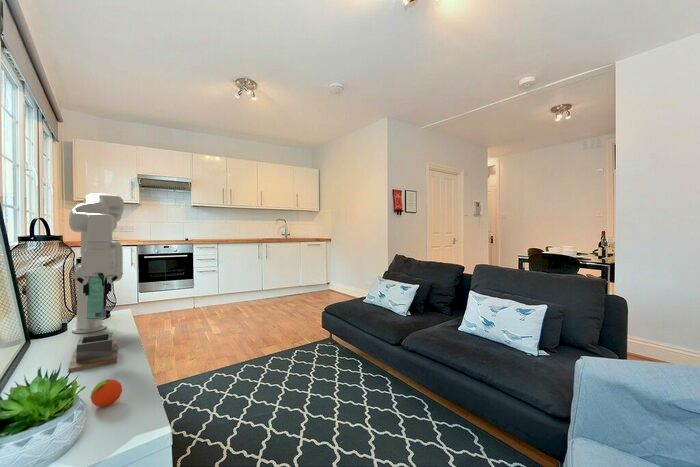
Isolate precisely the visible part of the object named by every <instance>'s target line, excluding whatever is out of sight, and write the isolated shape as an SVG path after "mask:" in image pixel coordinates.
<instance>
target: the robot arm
mask: <svg viewBox="0 0 700 467" xmlns="http://www.w3.org/2000/svg"><path fill="white" fill-rule="evenodd" d="M82 200H83V201H82V203H78V204H76V205H75V206H74V207H73V208H72V209H71V210H70V212H69V218H68V226H69V228H70V229H71V231H73V232H75V233H80V256H81V260H80V265H78V266H77V267H76V269H75V271H74V272H73V273H72V274H71V277H72V278H73V279H75V280H76V285H77V286H76V287H77V293H76V294H77V297H76V298H77V302H76V304H77V305H76V322H75V323H76V326H74V327H72V328H71V332H72V333H74V334H88V333H94V332H98V331H102V330H104V329H106V328H107V324H106V323H104V322H103V321H104V319H103V320H98V321H87V305H88V279H89V277H91V275H93V273H103V274H104V276H106V277H107V295H110V292H112V288H113V287H112V284H113V283H114V282H118V281H120V280H121V279H123V275H124V273H123V271H124V267H123V265H124V262H123V261H124V260H123V259H124V258H123V257H124V255H123V254H124V253H123V252H124V251H123V245H122V244H121V242H120V241H117V240H113V232H114V231H115V230H116V229H117V225H118V223H119V222H120V220H121V219H122V215H123V213H124V209H125V202H124V200H123V198H122V197H121V196H119V195H117V194H108V193H107V194H106V193H89V194H87V195H86V196H84V198H83V199H82Z"/></svg>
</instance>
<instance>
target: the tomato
mask: <svg viewBox="0 0 700 467" xmlns="http://www.w3.org/2000/svg"><path fill="white" fill-rule="evenodd" d="M122 392H123V387H122V384H121V382H119V381H118V380H117V379H114V378H113V379H112V378H109V379H105V380H101V381H100V382H99V383H97V384H96V385H95V386H94V387H93V388H92V391H91V393H90V397H89V398H90V401H91V403H92V404H93V405H94V406H96V407H99V408H106V407H109V406H112V405H114V404H115V403H116V402H117V401H118V400H119V399H120V397H121V395H122Z"/></svg>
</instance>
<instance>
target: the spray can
mask: <svg viewBox="0 0 700 467" xmlns="http://www.w3.org/2000/svg"><path fill="white" fill-rule="evenodd" d="M107 283H108V282H107V277H106V276H104V274H103V273H93V275H91V277H89V279H88V305H87V321H98V320H103V321H104V320H105V319H106V318H107V302H108V301H107V300H108V299H107V298H108V296H107V295H108V294H107Z"/></svg>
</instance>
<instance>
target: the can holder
mask: <svg viewBox="0 0 700 467" xmlns="http://www.w3.org/2000/svg"><path fill="white" fill-rule="evenodd" d="M117 350H118V342H115V343H113V332H107V333H100V334H92V335H86V336H85V335H84V336H79V338H78V341H77V343H76V348H75V349H74V350H73V351H74V352H73V354H72V358H71V360H70V363H69V366H68V368H67V369H68V371H67V372H68V373H71V372H70V371H72V372H77V371H82V370H87V369H93V368H98V367H99V368H100V367H103V366H109V365H115V364H117V358H118V355H117V354H118V351H117Z"/></svg>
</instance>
